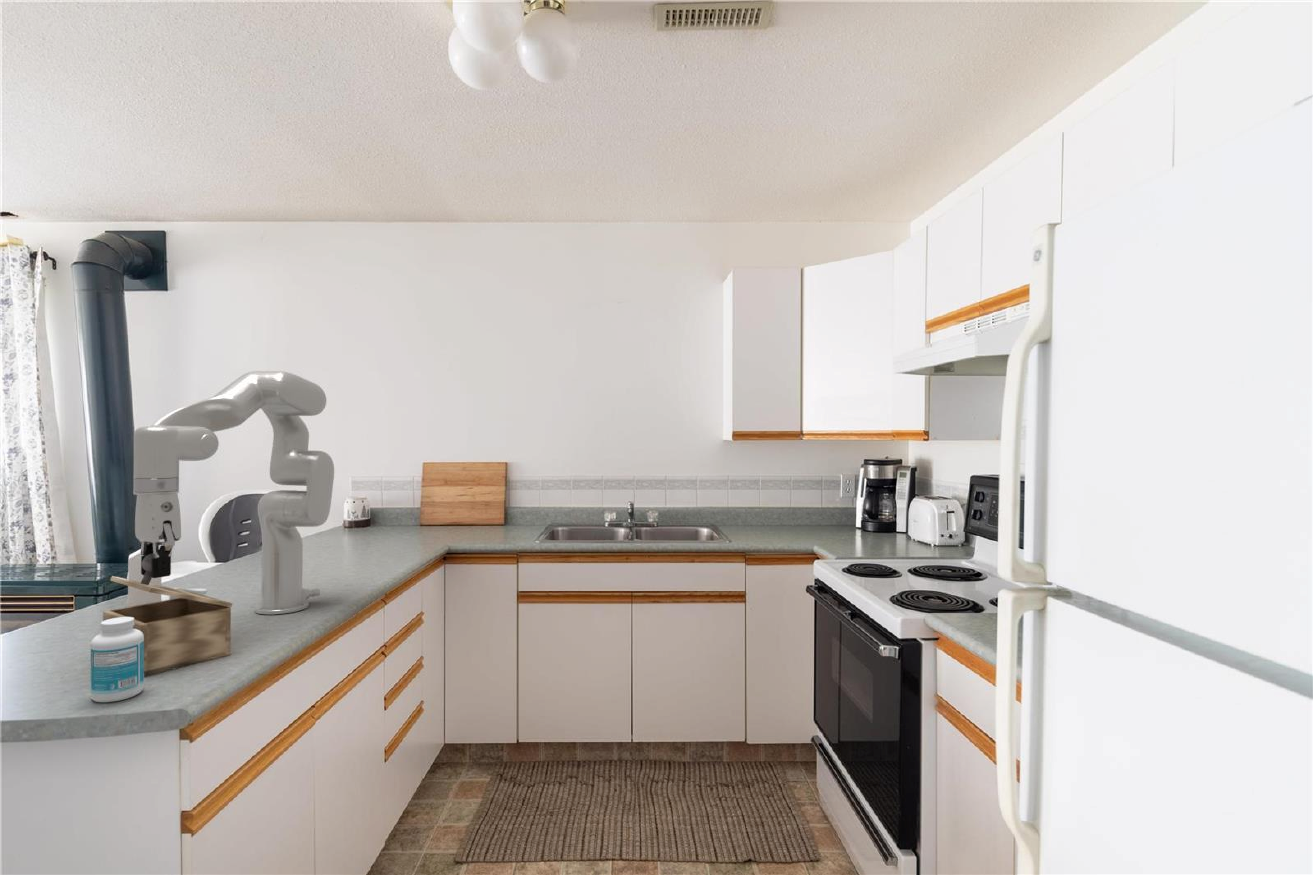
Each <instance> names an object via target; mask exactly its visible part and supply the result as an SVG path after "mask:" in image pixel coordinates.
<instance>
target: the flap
mask: <svg viewBox="0 0 1313 875" xmlns="http://www.w3.org/2000/svg"><path fill="white" fill-rule="evenodd" d="M152 558H154V553H152V554H149V555H147V556H146V557H145V558H144V559H143V561H142V567H143V569H144V570H145V571H146V572H145V574H144V577H143V579H142V581H141V582H138V581H133V580H128V578H124V577H121V576H114V575H111V577H110V580H109V581H111V582H114V583H118V584H120V585H125V586H127V587H128V586H130V587H134V588H137V589H140V590H144V591H147V592H151V593H156V594H162V595H167V596H173V597H178V598H184V599H189V600H195V601H200V602H205V603H211V604H216V605H222V606H227V607H231V608H232V607H233V603H232V602H229V601H226V600H222V599H219V598H215V597H211V596H208V595H201V594H197V593H194V592H190V591H185V590H179V589H174V588H175V587H168V586H163V585H161V586H159V585H153V584H149V583H150V581H151V578H152V576H151V570H152Z"/></svg>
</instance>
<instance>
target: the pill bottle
mask: <svg viewBox="0 0 1313 875" xmlns="http://www.w3.org/2000/svg"><path fill="white" fill-rule="evenodd" d="M134 624H135V623H134V618H133V617H119V618H112V619H108V620H105V621H103V620H102V621H101V622H100V631H101V632H100V633H99V634H97V635H96V636H94V637H93V638H92V640H91V641H90V698H91V700H92V701H93V702H96V703H113V702H119V701H124V700H126V699H131V698H133V697H135V696H137V695H138V694H140V693H141V692H142V691H143V690H144V688H145V677H144V635H143V633H142V632H141V631H140V630H137V629H133V626H134Z"/></svg>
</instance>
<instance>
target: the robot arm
mask: <svg viewBox="0 0 1313 875" xmlns="http://www.w3.org/2000/svg"><path fill="white" fill-rule="evenodd" d="M326 405H327V396H326V393H325V391H324V390H323V388H322V387H321V386H320V385H318V384H317V383H315V382H312V381H310V380H308V379H305V378H303V377H301V376H299V375H296V374H293V373H292V372H288V371H282V370H280V371H276V370H275V371H271V370H270V371H269V370H268V371H267V370H266V371H265V370H261V371H260V370H259V371H258V370H257V371H256V370H255V371H254V370H253V371H249V372H245V373H244V374H242V375H241V376H239V377H237V378H236V379H235V380H234V381H233V382H231V383H230V384H228V385H227V386H226V387H224V388H222V389H221V390H220V391H218V392H217V393H216V394H215V395H213V396H211V397H208V398H206V399H202V400H200V401H197V402H194V403H191V404H189V405H185V406H183V407H181V408H178V409H176V410H174V411H171V412H170V413H167V414H165V415H164V416H163V417H161V418H160V419H158V420H157V421H156V422H154V423H153V424H152V425H151V426H141V427H138V428H136V429H135V431H134V433H133V495H135V496H136V501H135V502H136V503H135V513H134V514H135V518H134V531H135V532H134V534H135V538H136V539H137V540H138V541H139V542H140V543H139V544H140V549H141V555H144V556H141V574H142V575H144V574H145V572H146V571H145V570H144V569H143V567H142V561H143V559H144V558H145V557H146V556H147V555H149V554H152V553H154V558H152V570H151V576H152V578H159V577H162V578H164V577H169V576H171V575H172V573H171V572H172V559H171V558H172V556H173V555H172V553H173V552H172V550H173V549H174V546H175V545H176V542H178V541H180V540H181V538H182V519H181V509H180V508H181V507H180V500H179V495H178V494H179V493H180V461H182V462H183V461H184V462H188V461H189V462H197V461H198V462H200V461H205V460H208V459H209V458H211V457H213V456H214V455H215V454H216V452H217V450H219V439H218V436H217V435H216V433H215V432H219V431H225V430H229V429H233V428H235V427H239V426H242V424H243V423H245V422H246V421H247V420H248V419H250V418H251V417H252V416H253V415H254V414H255V413H256V412H257V411H259V410H260V409H261V410H262V412H263V413H264V414H265V416H266V417H267V419H268V420H269V423H270V424H271V427H272V432H273V438H272V439H273V440H272V447H271V455H270V463H269V477H270V480H271V482H273V483H275V484H277V485H281V486H295V487H296V486H302V487H303V486H305V487H306V490H298V489H297V490H296V489H295V490H289V489H288V490H285V489H284V490H282V489H281V490H278V489H277V490H273V491H269V492H267V493H265V494H263V495H262V496H261V497H260V499H259V501H258V504H257V515H258V516H257V517H258V520H259V525H260V532H261V589H260V590H261V596H260V598H261V603H259V604H256V605H255V606H254V612H255V613H256V614H259V615H283V614H289V613H295V612H299V611H302V610H306V609H307V608H309V600H308V599H309V598H310V597H311V598H313V597H318V596H320V594H321V590H320V589H319V588H313V589H311V590H310V589H305V588H303V551H304V550H303V547H304V545H303V538H302V536H301V534H300V531H299V530H298V528H297V527H299V528H301V527H303V528H306V527H307V528H314V527H320V526H322V525H324V524H325V523H326V521H327V520H328V518H329V516H330V513H331V512H330V511H331V507H332V506H331V505H332V498H333V489H334V488H333V487H334V479H335V465H334V461H333V459H332V457H331V455H330V454H329V453H327V452H326V451H322V450H309V442H310V441H309V440H310V432H309V429H308V427H307V425H306V423H305V422H304V421H303V420H302V417H313V416H317V415H320V414H321V413H322V412H323V411H324V410H325V408H326V407H327V406H326ZM161 540H164V541H161Z"/></svg>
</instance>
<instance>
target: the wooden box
mask: <svg viewBox="0 0 1313 875" xmlns="http://www.w3.org/2000/svg"><path fill="white" fill-rule="evenodd" d="M231 612H232V606H231V607H227V606H222V605H216V604H211V603H205V602H200V601H195V600H189V599H184V598H176V599H170V600H165V601H159V602H153V603H148V604H142V605H136V606H131V607H128V606H127V607H120V608H114V609H108V610H104V611H102V621H105V620H108V619H112V618H119V617H133V618H134V623H135V624H134V626H133V629H137V630H140V631H141V632H142V633H143V635H144V678H145V677H148V676H153V675H155V673H156V674H160V673H164V672H168V671H171V670H170V669H172V670H174V669H173V668H176V669H179V667H180V668H183V667H182V666H184V667H187V666H186V665H188V666H190V665H189V664H192V665H195V664H199V662H200V663H203V661H204V662H206V661H207V660H208V661H211V660H210V659H212V660H215V659H218V658H222V657H223V658H224V657H227V656H230V655H231V625H232V624H231V620H232V617H231V616H232V613H231ZM152 674H153V675H152Z"/></svg>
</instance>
